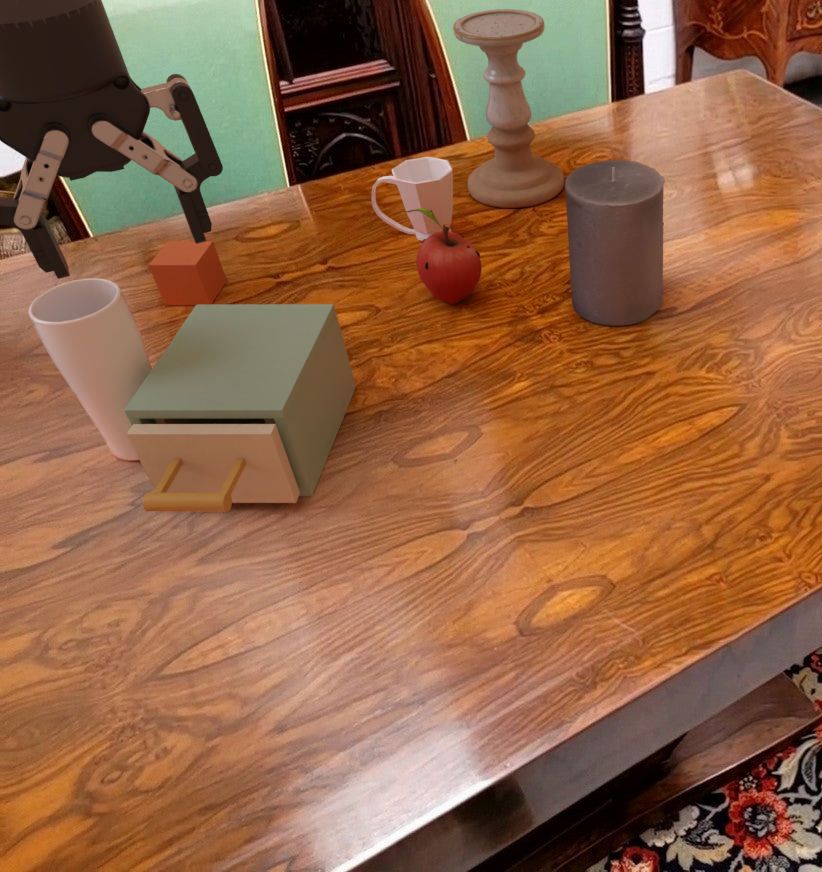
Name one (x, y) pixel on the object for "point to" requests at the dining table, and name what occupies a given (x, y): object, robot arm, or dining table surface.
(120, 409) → the drinking glass
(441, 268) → the apple
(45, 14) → the robot arm
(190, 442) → the drawer
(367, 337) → the dining table surface
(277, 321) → the cabinet
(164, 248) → the block
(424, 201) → the cup
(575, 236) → the pillar candle
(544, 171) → the candle holder
